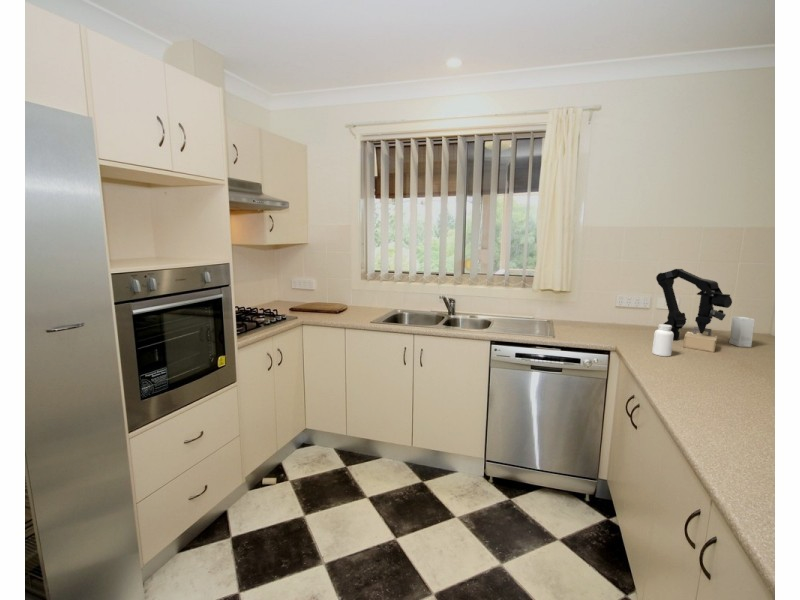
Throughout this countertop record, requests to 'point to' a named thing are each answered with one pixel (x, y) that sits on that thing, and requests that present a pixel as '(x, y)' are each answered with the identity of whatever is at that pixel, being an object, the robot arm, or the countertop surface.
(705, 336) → the beige handled lid
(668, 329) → the pill bottle
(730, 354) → the countertop surface
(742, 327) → the skincare box
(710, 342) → the wooden drawer
